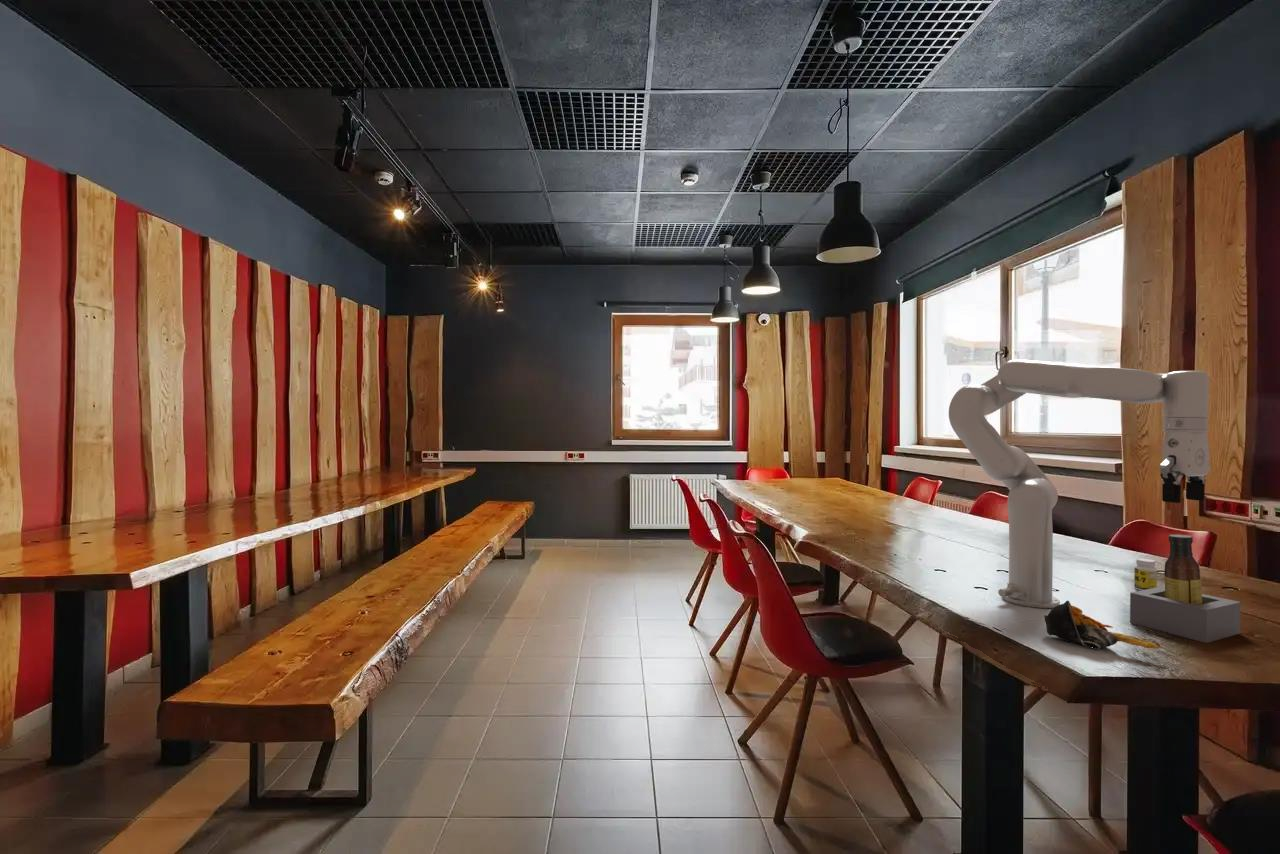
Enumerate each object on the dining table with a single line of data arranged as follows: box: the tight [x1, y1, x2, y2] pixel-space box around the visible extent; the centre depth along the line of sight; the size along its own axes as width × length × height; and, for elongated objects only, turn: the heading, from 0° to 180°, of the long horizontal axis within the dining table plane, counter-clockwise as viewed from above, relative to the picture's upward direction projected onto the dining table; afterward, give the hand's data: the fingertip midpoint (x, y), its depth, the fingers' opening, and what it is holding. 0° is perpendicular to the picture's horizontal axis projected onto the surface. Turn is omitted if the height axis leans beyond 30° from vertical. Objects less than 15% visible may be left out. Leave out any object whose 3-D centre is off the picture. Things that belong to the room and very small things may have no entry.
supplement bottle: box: [1133, 557, 1158, 591], centre depth 166 cm, size 5×5×8 cm
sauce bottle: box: [1163, 534, 1203, 605], centre depth 136 cm, size 6×6×20 cm
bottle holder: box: [1129, 585, 1241, 644], centre depth 135 cm, size 14×14×7 cm
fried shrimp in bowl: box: [1043, 600, 1161, 650], centre depth 124 cm, size 9×11×18 cm
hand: (1183, 501), depth 135 cm, fingers open, 9 cm apart
